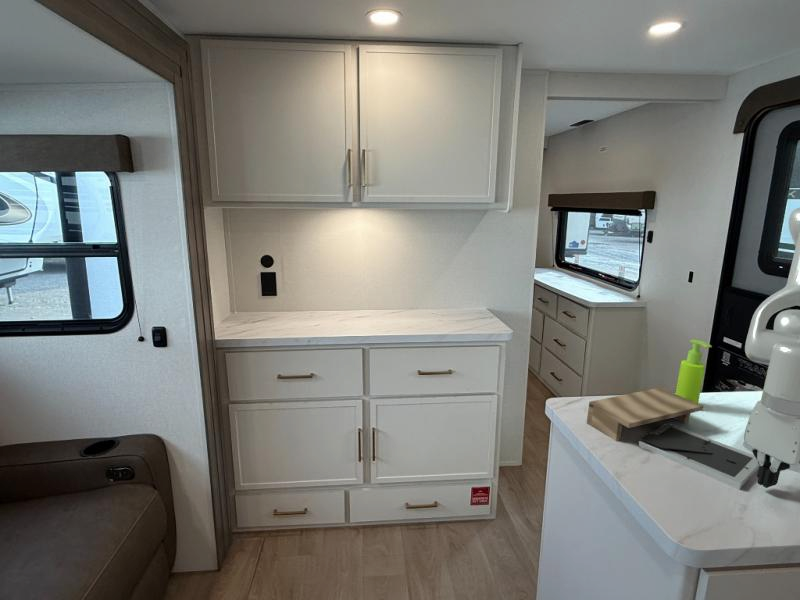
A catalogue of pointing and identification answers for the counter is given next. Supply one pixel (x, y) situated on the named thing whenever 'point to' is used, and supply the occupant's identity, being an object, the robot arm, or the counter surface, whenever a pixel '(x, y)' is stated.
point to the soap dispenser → (691, 373)
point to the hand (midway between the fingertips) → (765, 484)
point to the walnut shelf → (638, 410)
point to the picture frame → (702, 454)
